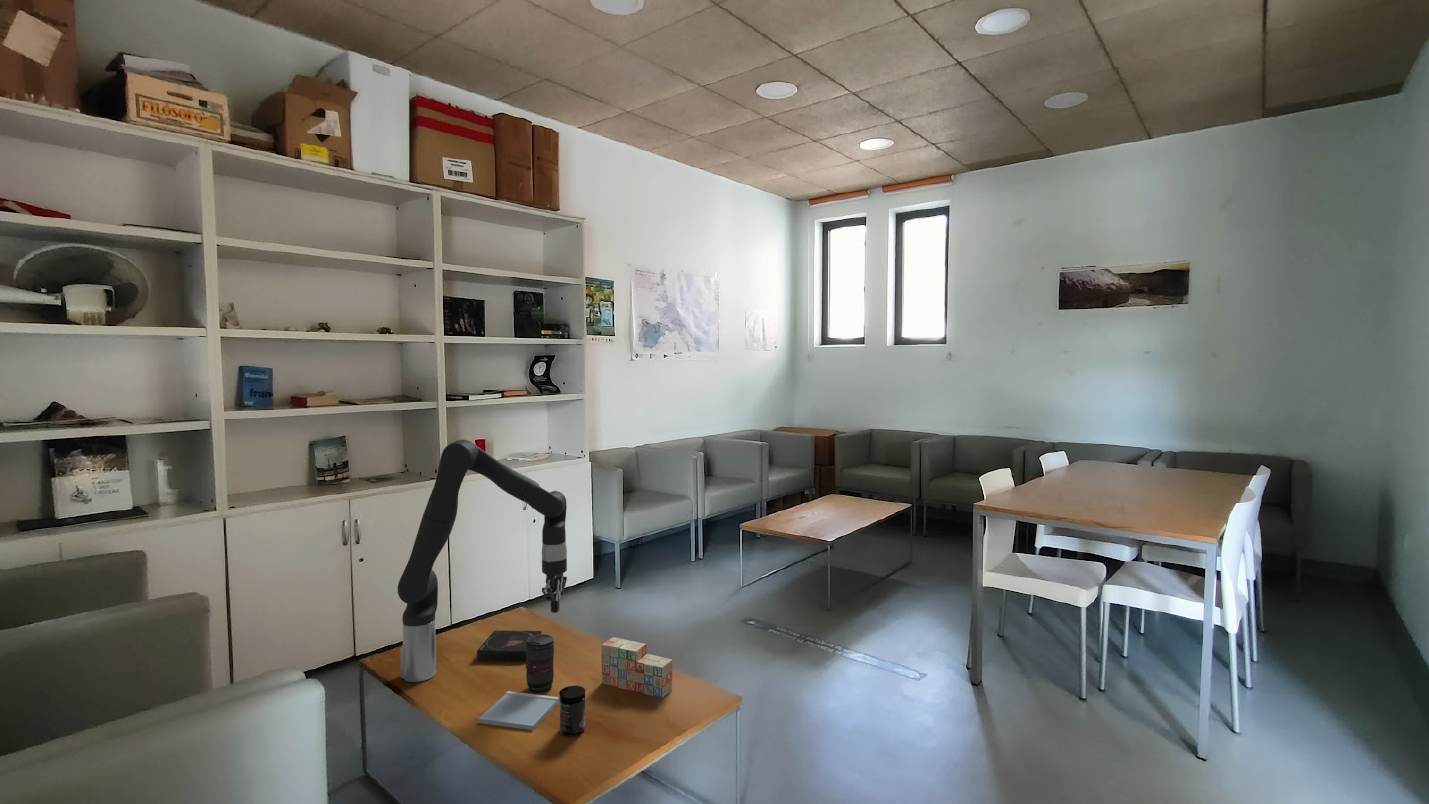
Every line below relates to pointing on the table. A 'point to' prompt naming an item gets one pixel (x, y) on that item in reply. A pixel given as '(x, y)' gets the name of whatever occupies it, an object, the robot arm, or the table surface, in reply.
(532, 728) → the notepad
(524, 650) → the portable cd player
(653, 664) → the stack of blocks
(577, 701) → the supplement container
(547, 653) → the camera lens
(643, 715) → the table surface
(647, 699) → the table surface
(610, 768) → the table surface
